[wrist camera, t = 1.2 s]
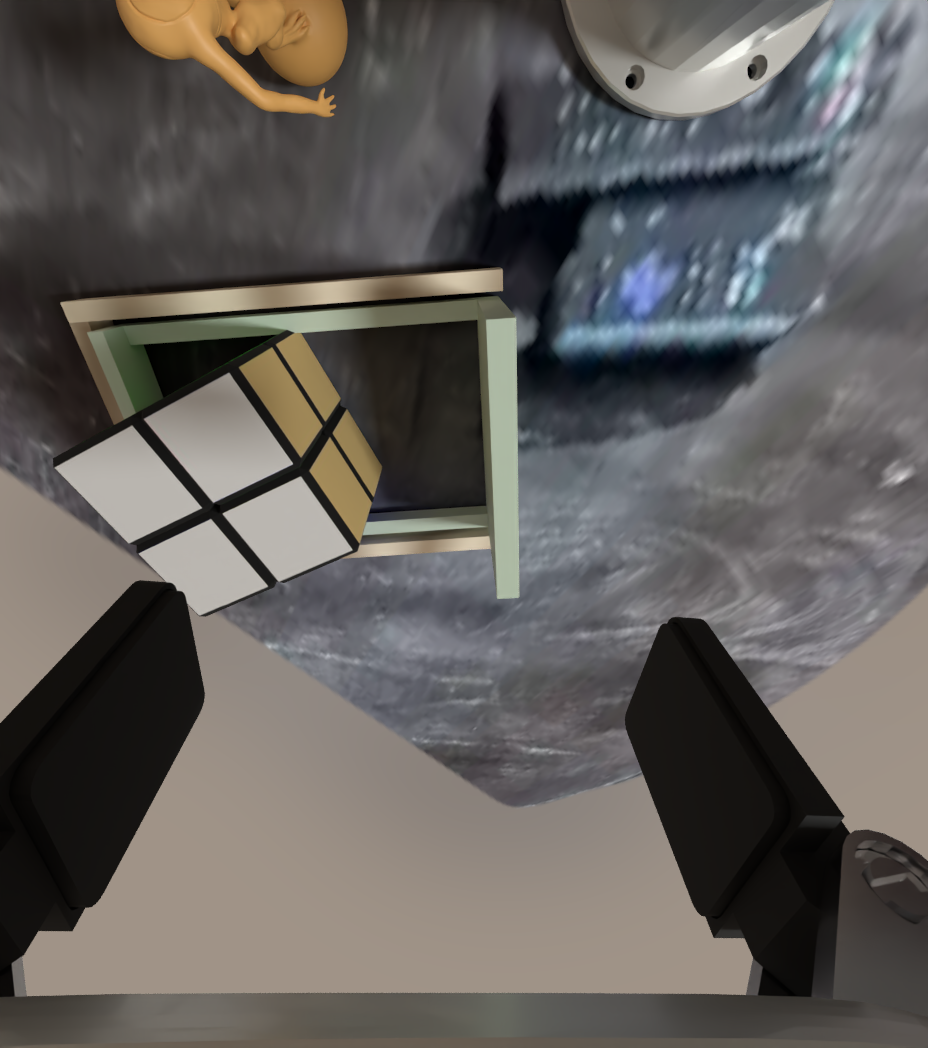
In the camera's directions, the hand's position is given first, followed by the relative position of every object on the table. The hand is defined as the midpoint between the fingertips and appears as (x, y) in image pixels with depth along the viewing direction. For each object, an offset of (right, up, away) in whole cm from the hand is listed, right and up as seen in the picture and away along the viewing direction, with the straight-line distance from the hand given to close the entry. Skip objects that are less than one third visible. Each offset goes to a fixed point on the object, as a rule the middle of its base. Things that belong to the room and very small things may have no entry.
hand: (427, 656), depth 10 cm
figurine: (-7, +24, +13) cm, 28 cm away
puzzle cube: (-11, +8, +21) cm, 26 cm away
